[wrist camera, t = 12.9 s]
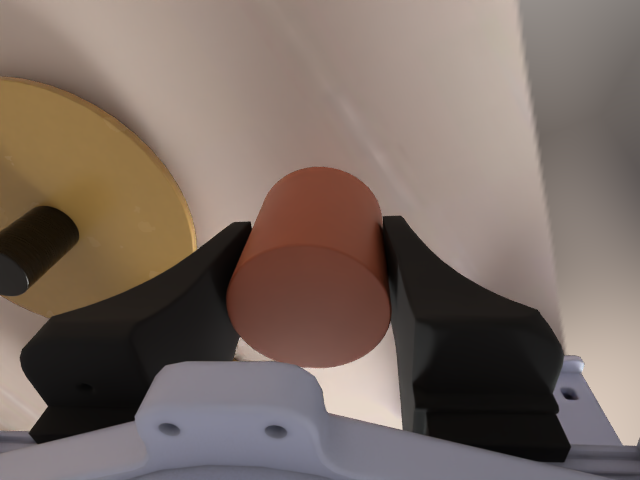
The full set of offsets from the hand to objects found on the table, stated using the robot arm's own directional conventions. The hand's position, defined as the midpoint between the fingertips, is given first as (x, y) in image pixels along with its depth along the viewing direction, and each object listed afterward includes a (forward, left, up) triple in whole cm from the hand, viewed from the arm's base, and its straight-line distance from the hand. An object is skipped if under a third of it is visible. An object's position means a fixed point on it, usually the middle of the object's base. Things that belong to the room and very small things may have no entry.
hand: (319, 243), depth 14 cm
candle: (0, 0, -1) cm, 1 cm away
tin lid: (+13, +1, -4) cm, 14 cm away
